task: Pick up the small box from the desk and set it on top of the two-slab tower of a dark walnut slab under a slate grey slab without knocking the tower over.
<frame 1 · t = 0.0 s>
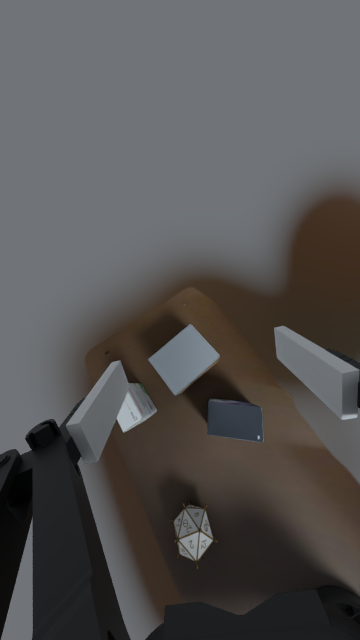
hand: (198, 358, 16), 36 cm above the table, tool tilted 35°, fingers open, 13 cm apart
game die: (194, 516, 40), on the table
ink box: (142, 401, 50), on the table
grey slab: (185, 360, 47), point 5 cm above the table, touching walnut slab
small box: (229, 413, 46), on the table
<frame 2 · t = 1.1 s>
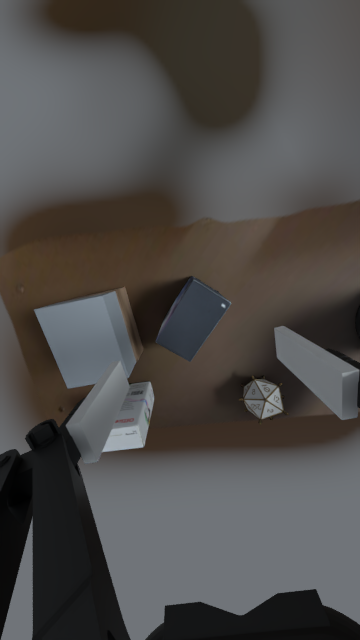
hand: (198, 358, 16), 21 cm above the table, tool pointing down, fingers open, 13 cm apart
game die: (254, 384, 40), on the table
ink box: (134, 391, 41), on the table
grey slab: (98, 333, 32), point 5 cm above the table, touching walnut slab
walnut slab: (110, 324, 37), on the table, touching grey slab
small box: (189, 306, 36), on the table
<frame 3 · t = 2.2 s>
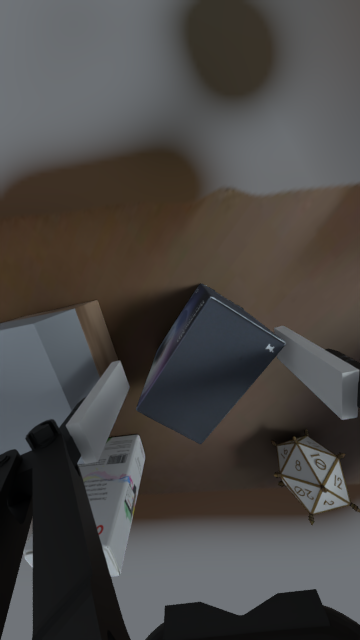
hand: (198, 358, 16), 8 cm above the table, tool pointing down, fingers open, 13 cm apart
game die: (290, 441, 27), on the table
ink box: (116, 447, 29), on the table
grey slab: (52, 375, 20), point 5 cm above the table, touching walnut slab
walnut slab: (79, 354, 25), on the table, touching grey slab
small box: (196, 330, 23), on the table
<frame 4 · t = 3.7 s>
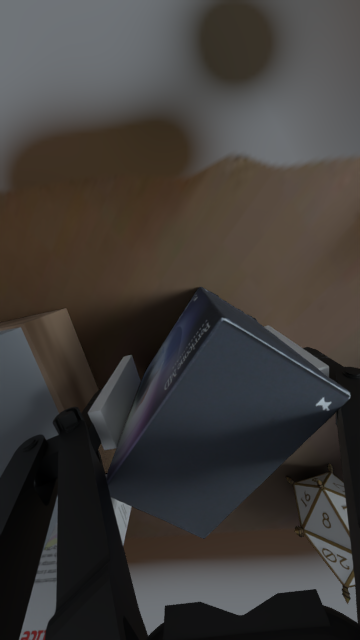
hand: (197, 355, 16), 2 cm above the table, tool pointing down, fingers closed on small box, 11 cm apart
game die: (309, 476, 23), on the table
ink box: (97, 486, 23), on the table
walnut slab: (46, 377, 19), on the table, touching grey slab
small box: (195, 346, 18), on the table, touching gripper
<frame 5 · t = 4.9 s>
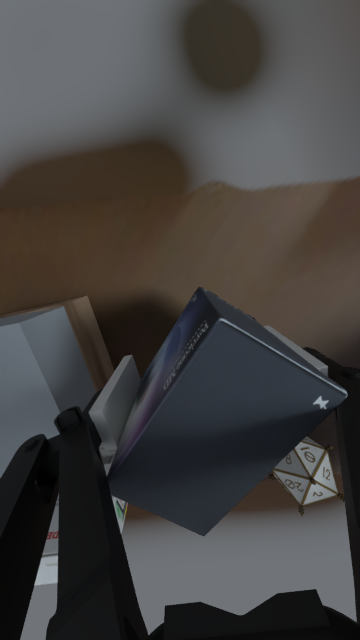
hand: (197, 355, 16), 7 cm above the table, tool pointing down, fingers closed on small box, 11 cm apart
game die: (281, 435, 28), on the table
ink box: (108, 447, 28), on the table
grey slab: (40, 376, 19), point 5 cm above the table, touching walnut slab
walnut slab: (69, 352, 24), on the table, touching grey slab
small box: (195, 346, 18), point 5 cm above the table, touching gripper
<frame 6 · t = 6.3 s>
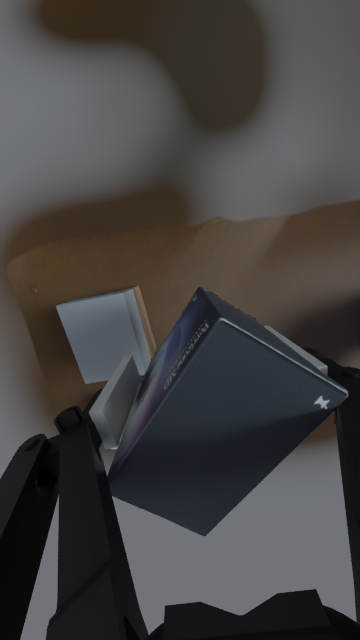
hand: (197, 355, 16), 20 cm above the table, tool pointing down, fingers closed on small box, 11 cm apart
grey slab: (114, 330, 32), point 5 cm above the table
walnut slab: (124, 323, 37), on the table
small box: (195, 346, 18), point 18 cm above the table, touching gripper
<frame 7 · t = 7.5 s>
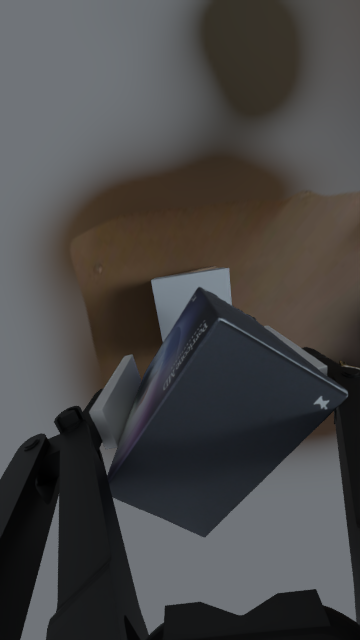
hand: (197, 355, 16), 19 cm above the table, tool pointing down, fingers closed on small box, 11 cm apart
grey slab: (193, 313, 30), point 5 cm above the table
small box: (195, 346, 18), point 17 cm above the table, touching gripper
when the fingers open (13 cm above the table, at t = 9.7 s): small box drops 2 cm, resting on grey slab.
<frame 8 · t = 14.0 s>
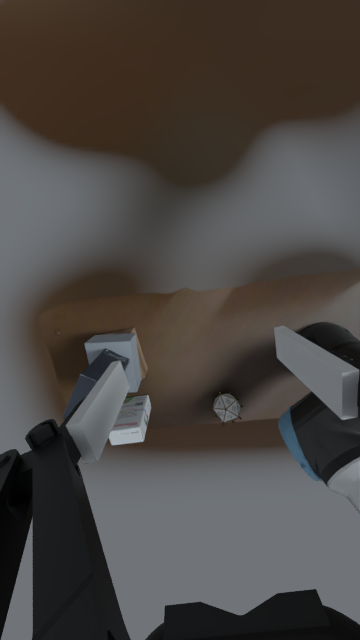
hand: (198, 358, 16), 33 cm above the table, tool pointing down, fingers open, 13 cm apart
game die: (223, 397, 56), on the table
ink box: (136, 402, 56), on the table
grey slab: (118, 358, 47), point 5 cm above the table, touching small box, walnut slab
walnut slab: (124, 352, 52), on the table, touching grey slab
small box: (109, 370, 43), point 9 cm above the table, touching grey slab
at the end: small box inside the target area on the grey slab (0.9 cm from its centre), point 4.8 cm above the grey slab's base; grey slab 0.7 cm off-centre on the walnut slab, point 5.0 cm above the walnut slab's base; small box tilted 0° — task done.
